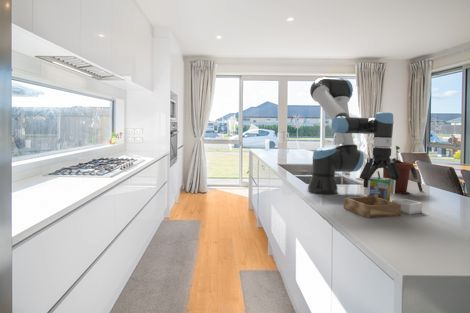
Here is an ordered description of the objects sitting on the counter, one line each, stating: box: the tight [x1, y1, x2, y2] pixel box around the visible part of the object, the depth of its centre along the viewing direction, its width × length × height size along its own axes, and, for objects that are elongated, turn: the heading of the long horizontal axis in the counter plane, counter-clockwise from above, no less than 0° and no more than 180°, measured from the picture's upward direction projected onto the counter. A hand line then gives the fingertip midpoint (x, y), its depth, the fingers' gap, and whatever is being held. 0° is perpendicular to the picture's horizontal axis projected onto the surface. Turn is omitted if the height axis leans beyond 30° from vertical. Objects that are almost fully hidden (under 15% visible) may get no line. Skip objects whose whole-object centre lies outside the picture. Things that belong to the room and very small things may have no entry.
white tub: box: [391, 198, 423, 215], centre depth 132 cm, size 8×8×4 cm
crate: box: [343, 196, 401, 219], centre depth 129 cm, size 15×15×4 cm
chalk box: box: [366, 170, 391, 201], centre depth 144 cm, size 9×9×15 cm
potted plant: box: [382, 145, 423, 196], centre depth 174 cm, size 18×22×25 cm
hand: (379, 194), depth 144 cm, fingers open, 13 cm apart
